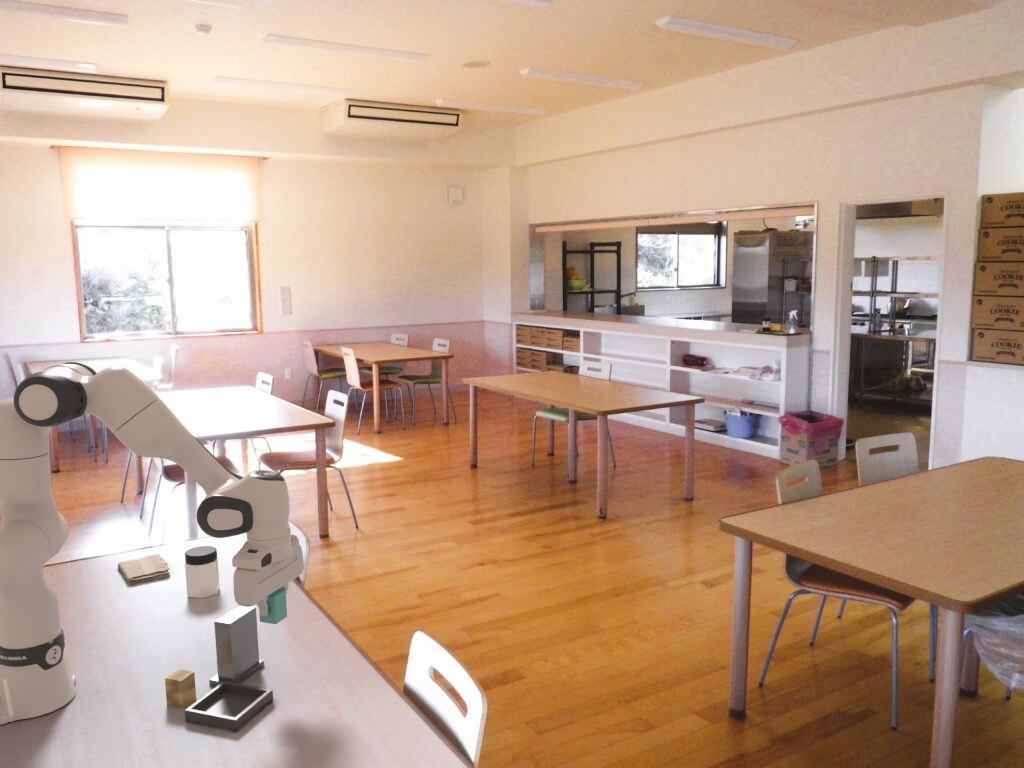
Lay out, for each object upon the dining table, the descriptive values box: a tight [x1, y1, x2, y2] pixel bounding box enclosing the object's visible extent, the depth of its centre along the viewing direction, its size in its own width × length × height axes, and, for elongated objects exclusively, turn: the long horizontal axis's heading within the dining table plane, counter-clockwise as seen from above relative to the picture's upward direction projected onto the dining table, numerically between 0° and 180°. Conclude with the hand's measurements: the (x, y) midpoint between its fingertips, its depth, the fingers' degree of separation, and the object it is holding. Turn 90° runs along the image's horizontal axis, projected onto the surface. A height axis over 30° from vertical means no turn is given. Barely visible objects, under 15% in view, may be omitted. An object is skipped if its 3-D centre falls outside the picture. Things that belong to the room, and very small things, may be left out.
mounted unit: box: [208, 605, 265, 687], centre depth 181 cm, size 6×11×14 cm, turn 161°
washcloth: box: [117, 553, 171, 586], centre depth 243 cm, size 12×18×3 cm, turn 36°
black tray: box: [184, 681, 274, 733], centre depth 167 cm, size 12×12×2 cm
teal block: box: [258, 589, 288, 625], centre depth 175 cm, size 4×4×6 cm
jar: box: [184, 545, 220, 599], centre depth 227 cm, size 9×8×12 cm
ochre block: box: [164, 668, 197, 709], centre depth 170 cm, size 4×4×6 cm
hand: (272, 609), depth 175 cm, fingers closed on teal block, 4 cm apart
